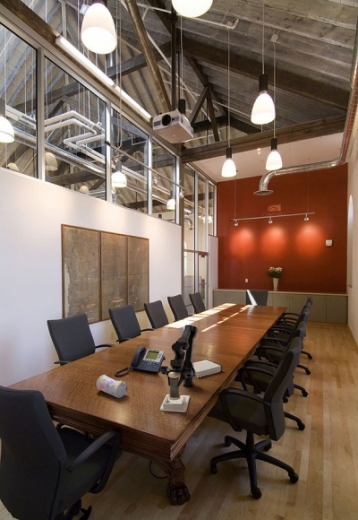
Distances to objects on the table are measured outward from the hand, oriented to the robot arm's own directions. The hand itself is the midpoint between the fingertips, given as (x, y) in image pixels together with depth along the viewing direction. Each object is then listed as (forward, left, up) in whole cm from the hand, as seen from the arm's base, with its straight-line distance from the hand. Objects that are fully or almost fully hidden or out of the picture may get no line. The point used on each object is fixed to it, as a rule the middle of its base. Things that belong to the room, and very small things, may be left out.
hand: (173, 386), depth 151 cm
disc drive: (-57, +12, -12) cm, 60 cm away
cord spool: (-1, 0, -7) cm, 7 cm away
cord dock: (-4, 0, -11) cm, 12 cm away
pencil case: (-13, -42, -12) cm, 45 cm away
